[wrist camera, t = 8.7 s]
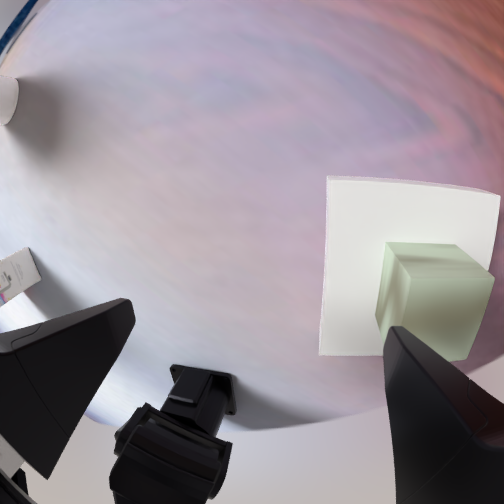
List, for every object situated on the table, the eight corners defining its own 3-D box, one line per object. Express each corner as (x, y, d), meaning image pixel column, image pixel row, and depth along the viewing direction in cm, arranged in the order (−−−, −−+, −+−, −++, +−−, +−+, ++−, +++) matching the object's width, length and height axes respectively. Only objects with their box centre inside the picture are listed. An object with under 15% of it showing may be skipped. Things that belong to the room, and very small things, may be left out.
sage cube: (439, 313, 16) (466, 359, 11) (374, 315, 17) (389, 366, 12) (455, 244, 14) (495, 277, 9) (385, 241, 15) (411, 278, 10)
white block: (450, 328, 19) (462, 349, 16) (319, 331, 21) (319, 355, 19) (478, 188, 15) (500, 195, 12) (326, 175, 17) (329, 179, 14)
